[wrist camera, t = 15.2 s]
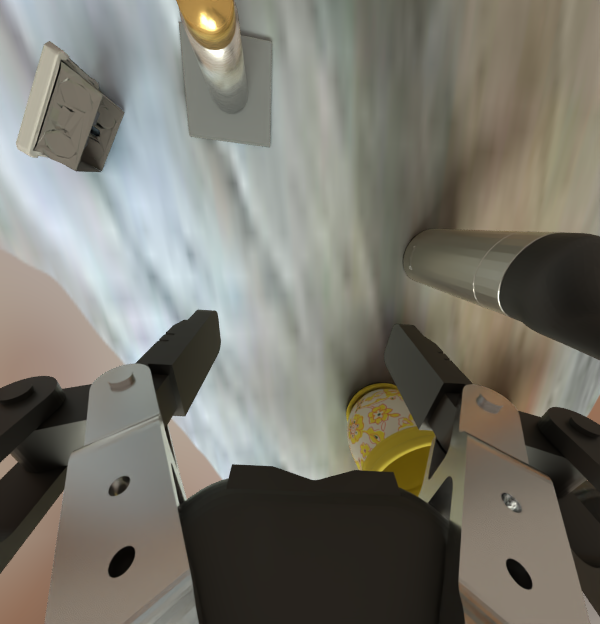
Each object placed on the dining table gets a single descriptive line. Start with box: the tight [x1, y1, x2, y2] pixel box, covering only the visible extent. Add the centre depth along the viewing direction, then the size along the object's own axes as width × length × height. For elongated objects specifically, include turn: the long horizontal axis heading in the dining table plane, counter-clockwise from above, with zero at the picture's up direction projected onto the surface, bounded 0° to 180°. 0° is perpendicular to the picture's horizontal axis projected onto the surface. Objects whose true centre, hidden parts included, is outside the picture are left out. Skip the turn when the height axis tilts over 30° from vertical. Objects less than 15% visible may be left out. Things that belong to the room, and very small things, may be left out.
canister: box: [176, 0, 248, 114], centre depth 21 cm, size 4×4×12 cm
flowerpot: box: [346, 383, 435, 497], centre depth 43 cm, size 18×18×16 cm
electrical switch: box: [16, 41, 124, 172], centre depth 23 cm, size 9×5×9 cm, turn 144°
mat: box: [179, 22, 272, 147], centre depth 26 cm, size 10×10×1 cm
